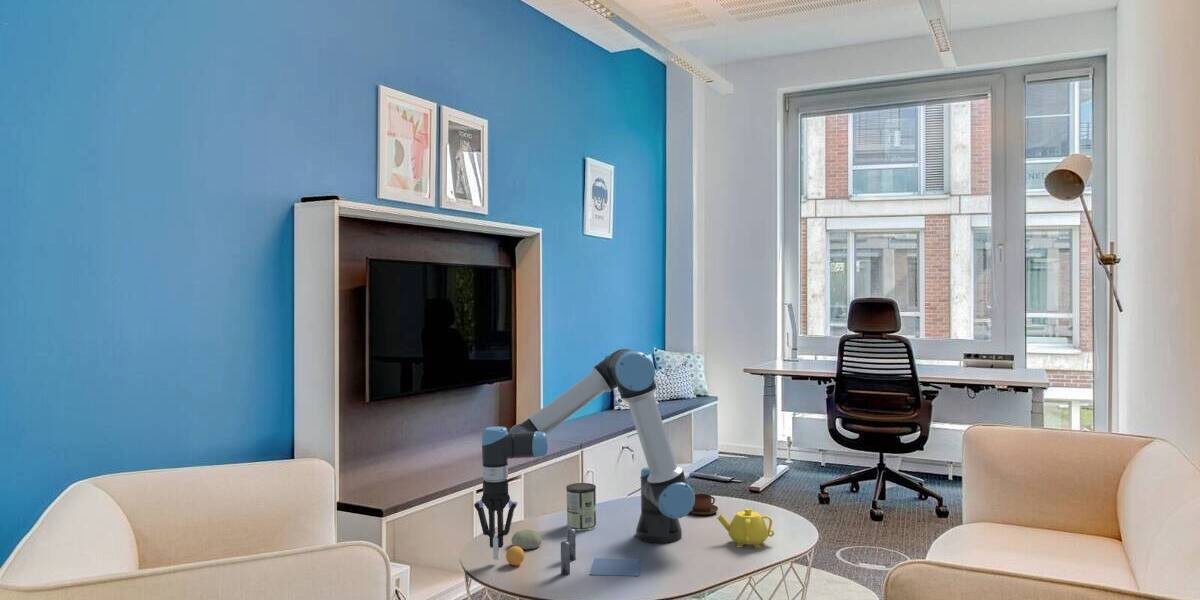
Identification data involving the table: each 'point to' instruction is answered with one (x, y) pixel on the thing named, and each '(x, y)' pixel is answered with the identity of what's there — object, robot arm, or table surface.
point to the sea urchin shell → (526, 539)
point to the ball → (515, 555)
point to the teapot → (748, 527)
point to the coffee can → (581, 506)
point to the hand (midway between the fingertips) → (496, 558)
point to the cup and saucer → (703, 505)
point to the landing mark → (615, 567)
